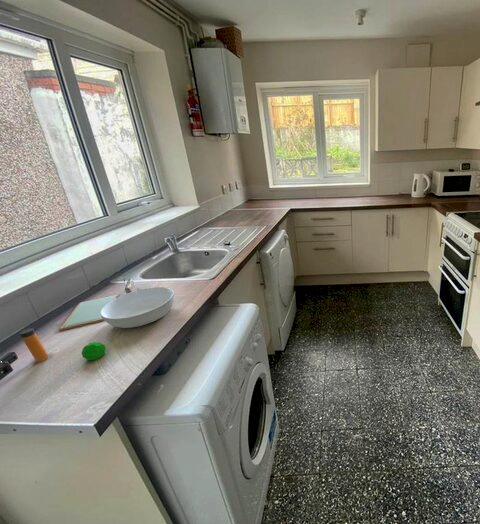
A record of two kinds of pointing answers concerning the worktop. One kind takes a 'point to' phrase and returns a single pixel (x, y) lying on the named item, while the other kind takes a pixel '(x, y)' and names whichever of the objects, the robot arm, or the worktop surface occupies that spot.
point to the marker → (34, 344)
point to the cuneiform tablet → (130, 286)
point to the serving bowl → (138, 307)
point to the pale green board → (87, 313)
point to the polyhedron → (93, 351)
